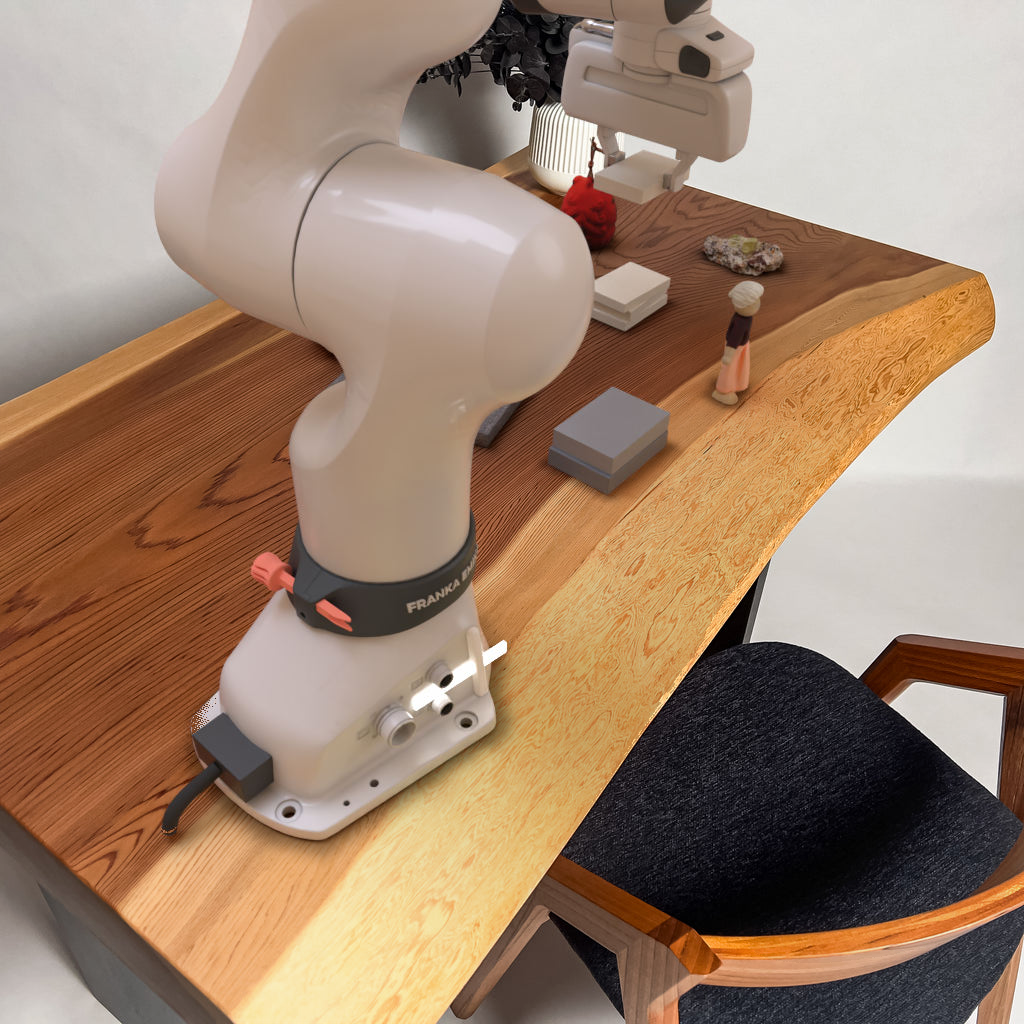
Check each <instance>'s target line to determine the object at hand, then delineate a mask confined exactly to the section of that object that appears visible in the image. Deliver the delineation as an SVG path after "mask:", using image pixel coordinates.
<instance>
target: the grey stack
mask: <svg viewBox="0 0 1024 1024" xmlns="http://www.w3.org/2000/svg"><path fill="white" fill-rule="evenodd" d="M670 418H671V412H670V411H667V410H665V409H663V408H661V407H659V406H656V405H655V404H652V403H650V402H647V401H646V400H643V399H641V398H639V397H637V396H634V395H632V394H630V393H628V392H626V391H623V390H621V389H619V388H617V387H615V386H611V387H609V388H608V389H607V390H605V391H604V392H602V394H600V395H598V396H597V397H596V398H595V399H593V400H591V401H590V402H588V404H586V405H584V406H583V407H581V408H580V409H579V410H578V411H577V412H575V413H574V414H572V415H571V416H570V417H568V418H567V419H565V420H563V422H561V423H560V424H558V425H557V426H556V427H554V428H553V432H552V445H550V446H549V447H548V457H547V465H549V466H551V467H552V468H554V469H557V470H558V471H560V472H562V473H564V474H566V475H568V476H570V477H572V478H574V479H576V480H577V481H579V482H581V483H583V484H585V485H587V486H589V487H591V488H592V489H595V490H597V491H599V492H601V493H603V494H604V495H606V496H608V495H609V494H611V493H612V492H613V491H614V490H616V489H617V488H618V487H619V486H621V485H622V484H623V483H624V482H625V481H627V480H628V479H629V478H630V477H631V476H632V475H634V473H636V472H637V471H639V469H641V468H642V467H643V466H644V465H645V464H647V462H649V461H650V460H651V459H652V458H654V457H655V456H656V455H657V454H659V453H660V452H661V451H662V450H663V449H664V448H666V446H667V442H668V441H667V440H668V435H669V430H668V429H669V424H670Z"/></svg>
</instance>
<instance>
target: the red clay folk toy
mask: <svg viewBox="0 0 1024 1024" xmlns="http://www.w3.org/2000/svg"><path fill="white" fill-rule="evenodd" d="M595 140H596V137H595V136H592V137H589V141H590V153H589V154H590V155H589V156H590V157H589V158H590V160H588V162H587V168H588V169H589V170H588V172H587V176H583V175H581V174H579V175H575V177H574V178H573V179H572V184H571V186H570V187H569V188H568V189H567V192H566V193H565V196H563V200H562V203H561V207H560V211H562V212H563V213H565V214H567V215H568V216H570V217H571V218H573V219H574V220H575V221H576V222H577V224H578V225H579V226H580V228H581V230H582V232H583V234H584V237H585V239H586V241H587V244H588V247H589V251H595V250H601V249H602V248H606V247H607V246H608V245H609V244H610V243H611V242H612V240H613V238H614V237H615V233H616V230H617V227H616V222H617V220H618V206H617V204H616V200H615V197H614V195H611V194H608V193H605V192H603V191H600V190H597V189H594V188H593V186H594V172H593V168H594V165H595V161H594V159H595V153H596V152H598V153H600V154H602V155H605V153H603V150H602V147H601V148H600V147H598V146H597V145H598V143H597V142H596V141H595Z"/></svg>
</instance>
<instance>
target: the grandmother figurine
mask: <svg viewBox="0 0 1024 1024" xmlns="http://www.w3.org/2000/svg"><path fill="white" fill-rule="evenodd" d="M764 291H765V288H764V286H763V285H762V284H760V283H759V282H757V281H753V280H745V281H741V282H739V283H738V284H736V285H735V286H733V288H732V289H731V290H730V291H729V292H728V294H727V295H728V296H727V297H728V299H731V302H732V304H733V308H734V310H735V312H734V313H733V315H732V317H731V320H730V322H729V325H728V327H727V330H726V332H725V343H724V351H723V355H722V356H721V360H720V361H721V364H722V365H721V367H720V368H721V369H720V371H719V375H718V378H717V381H716V382H715V388H716V389H715V390H714V391H712V393H711V398H713V399H714V400H715V401H718V402H720V403H722V404H724V405H727V406H732V405H735V404H737V402H738V401H739V397H738V395H737V393H739V392H741V391H744V390H746V389H747V388H748V387H749V380H750V367H751V364H750V363H751V360H750V358H751V357H750V355H751V354H750V352H751V351H750V349H751V348H750V335H751V334H750V333H751V330H752V325H753V321H754V317H753V316H754V315H755V314H756V313H758V311H759V310H760V307H761V297H762V296H763V295H764Z"/></svg>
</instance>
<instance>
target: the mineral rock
mask: <svg viewBox="0 0 1024 1024" xmlns="http://www.w3.org/2000/svg"><path fill="white" fill-rule="evenodd" d="M701 251H702V253H703V254H705V255H706V258H707V259H708V260H709V261H710V262H713V263H715V264H716V265H719V266H724V267H727V268H729V269H731V271H732V272H734V273H737V274H742V275H752V276H754V277H757V276H759V275H761V274H763V272H771V271H775V270H776V269H778V268H780V266H781V265H782V264H783V262H784V258H785V257H784V254H783V251H781V247H780V246H778V244H772V243H771V242H767V241H759V240H758V238H757V237H744V235H743V236H742V235H740V234H738V233H734V234H732V235H730V236H729V237H725V238H724V237H721V238H720V237H719V236H716V235H707V237H706V238H705V239H704V240H703V246H702V247H701Z"/></svg>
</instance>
